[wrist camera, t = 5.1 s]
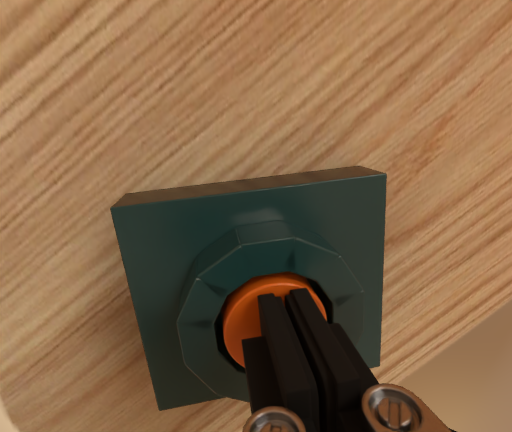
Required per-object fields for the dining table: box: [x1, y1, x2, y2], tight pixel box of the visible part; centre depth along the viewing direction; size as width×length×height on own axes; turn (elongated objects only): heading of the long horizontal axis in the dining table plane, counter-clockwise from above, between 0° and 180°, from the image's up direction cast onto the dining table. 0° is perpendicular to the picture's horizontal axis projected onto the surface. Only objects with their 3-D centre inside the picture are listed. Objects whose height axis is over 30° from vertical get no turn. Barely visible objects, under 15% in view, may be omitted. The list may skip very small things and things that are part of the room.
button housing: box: [110, 166, 387, 411], centre depth 13 cm, size 10×9×4 cm
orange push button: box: [221, 271, 327, 367], centre depth 11 cm, size 4×4×2 cm
